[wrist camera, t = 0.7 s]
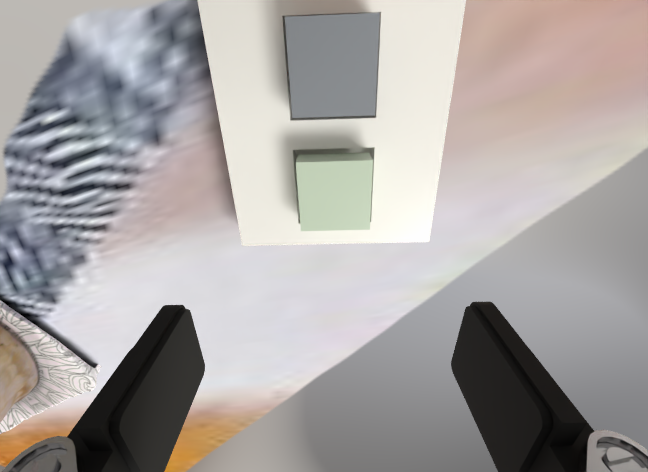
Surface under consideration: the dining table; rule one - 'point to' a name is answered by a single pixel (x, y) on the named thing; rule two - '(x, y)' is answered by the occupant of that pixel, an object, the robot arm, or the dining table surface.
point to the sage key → (334, 191)
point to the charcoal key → (333, 64)
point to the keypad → (332, 132)
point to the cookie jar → (35, 370)
